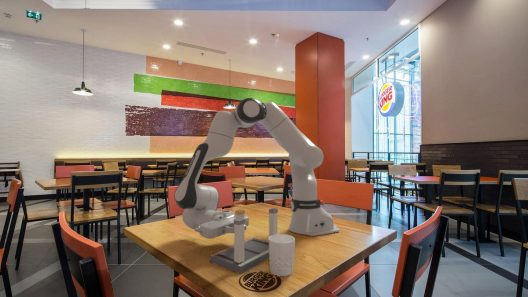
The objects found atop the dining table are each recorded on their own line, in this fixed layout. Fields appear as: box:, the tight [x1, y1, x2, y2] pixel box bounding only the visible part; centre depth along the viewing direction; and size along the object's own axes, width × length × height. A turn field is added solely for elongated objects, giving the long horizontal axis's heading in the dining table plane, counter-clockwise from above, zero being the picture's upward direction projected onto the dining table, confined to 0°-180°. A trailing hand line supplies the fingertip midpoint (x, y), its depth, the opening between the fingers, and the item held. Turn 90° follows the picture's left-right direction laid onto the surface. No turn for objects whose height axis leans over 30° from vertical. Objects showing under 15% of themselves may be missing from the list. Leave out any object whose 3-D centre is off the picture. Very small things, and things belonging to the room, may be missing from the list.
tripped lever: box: [234, 209, 246, 220], centre depth 92 cm, size 2×3×13 cm
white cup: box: [268, 233, 296, 277], centre depth 78 cm, size 8×8×10 cm
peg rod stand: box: [209, 207, 279, 275], centre depth 89 cm, size 14×22×15 cm, turn 143°
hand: (241, 229), depth 91 cm, fingers closed on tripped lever, 2 cm apart
